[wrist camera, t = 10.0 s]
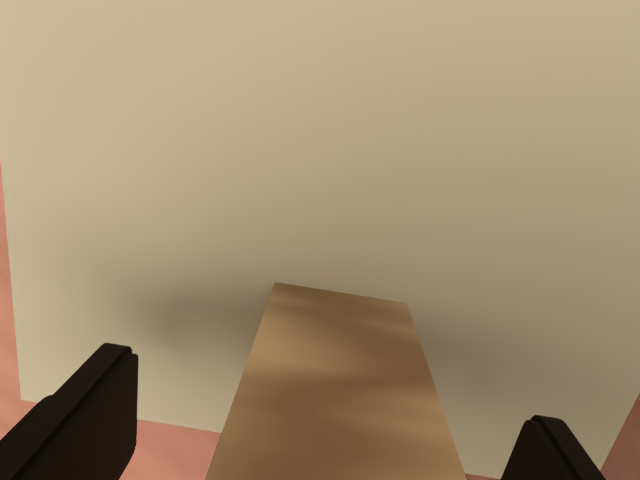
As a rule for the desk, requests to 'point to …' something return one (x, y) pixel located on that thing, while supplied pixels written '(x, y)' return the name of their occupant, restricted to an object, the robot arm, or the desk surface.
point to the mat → (331, 195)
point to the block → (335, 396)
